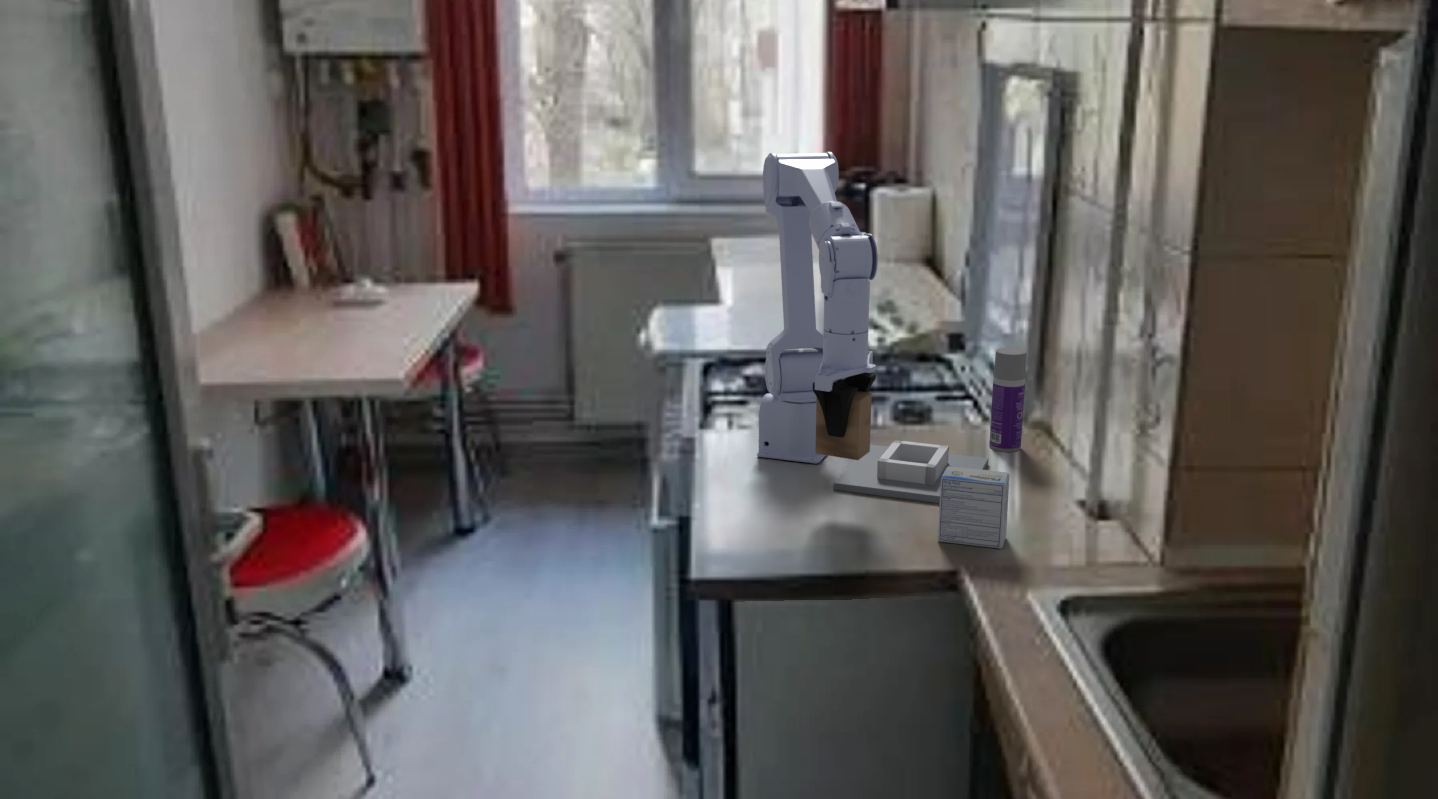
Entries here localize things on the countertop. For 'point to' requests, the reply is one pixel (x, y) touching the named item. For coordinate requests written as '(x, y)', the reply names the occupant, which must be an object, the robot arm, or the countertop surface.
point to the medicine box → (973, 507)
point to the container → (1008, 399)
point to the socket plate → (904, 470)
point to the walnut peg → (847, 431)
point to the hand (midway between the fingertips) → (843, 431)
